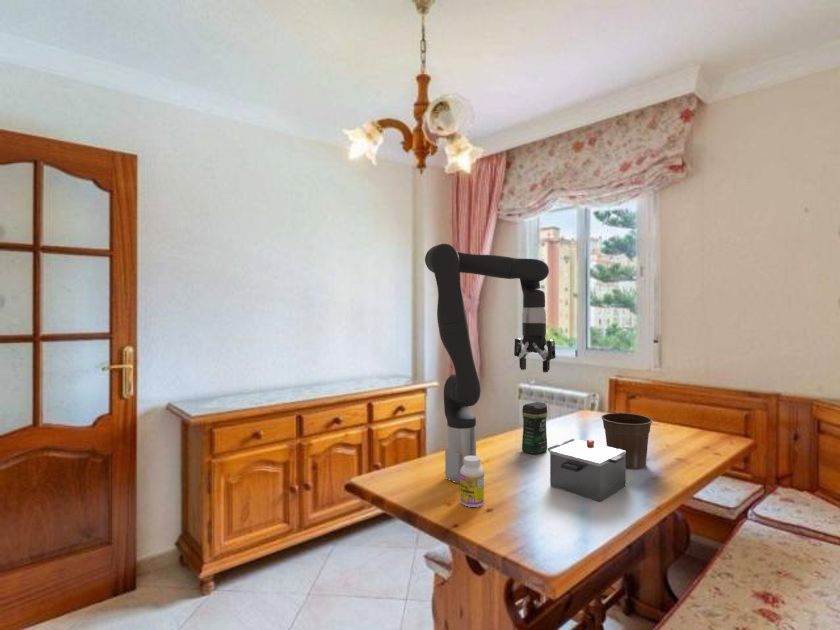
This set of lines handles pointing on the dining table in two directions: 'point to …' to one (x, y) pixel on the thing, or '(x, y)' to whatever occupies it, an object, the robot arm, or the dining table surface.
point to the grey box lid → (587, 452)
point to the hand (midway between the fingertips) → (534, 370)
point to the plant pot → (628, 436)
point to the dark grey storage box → (587, 477)
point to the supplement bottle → (472, 482)
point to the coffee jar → (534, 428)
